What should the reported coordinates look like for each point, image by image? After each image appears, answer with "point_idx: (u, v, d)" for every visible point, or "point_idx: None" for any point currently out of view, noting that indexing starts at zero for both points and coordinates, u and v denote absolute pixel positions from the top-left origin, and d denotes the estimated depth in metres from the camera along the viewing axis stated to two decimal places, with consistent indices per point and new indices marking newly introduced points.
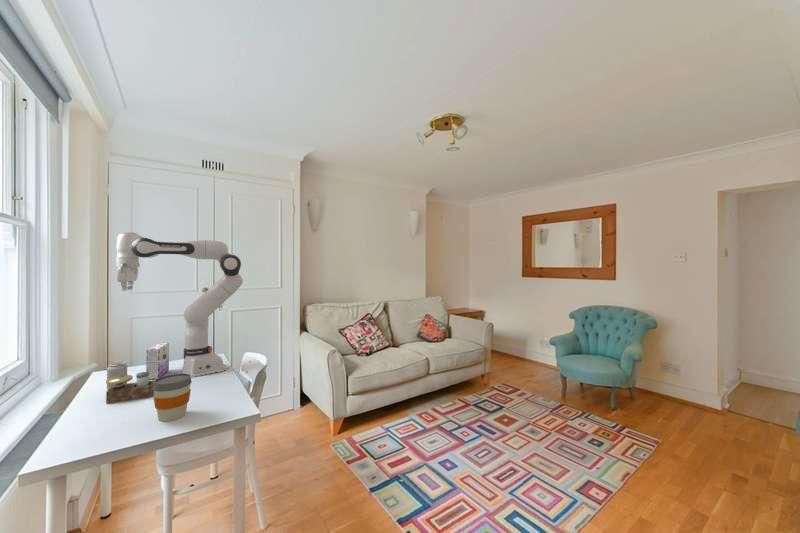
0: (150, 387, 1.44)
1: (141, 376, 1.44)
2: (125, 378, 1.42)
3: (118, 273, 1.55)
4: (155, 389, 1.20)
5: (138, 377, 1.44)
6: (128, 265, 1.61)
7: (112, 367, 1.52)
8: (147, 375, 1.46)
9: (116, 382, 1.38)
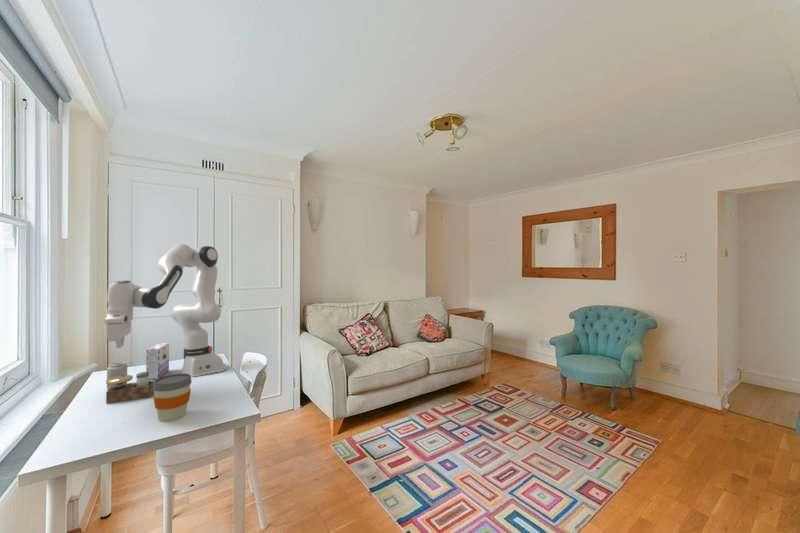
0: (150, 387, 1.44)
1: (141, 376, 1.44)
2: (125, 378, 1.42)
3: None
4: (155, 389, 1.20)
5: (138, 377, 1.44)
6: None
7: (112, 367, 1.52)
8: (147, 375, 1.46)
9: (116, 382, 1.38)
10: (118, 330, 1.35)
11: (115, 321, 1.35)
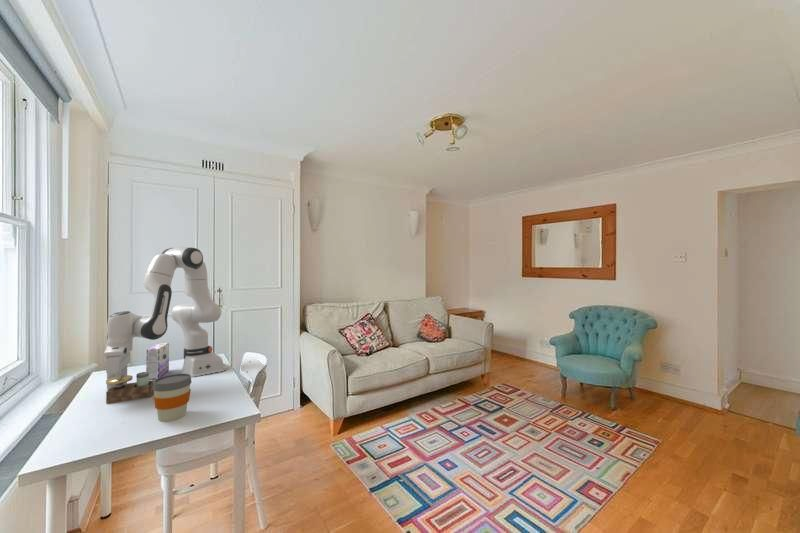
0: (150, 387, 1.44)
1: (141, 376, 1.44)
2: (125, 378, 1.42)
3: None
4: (155, 389, 1.20)
5: (138, 377, 1.44)
6: None
7: None
8: (147, 375, 1.46)
9: (116, 382, 1.38)
10: (117, 363, 1.34)
11: (114, 354, 1.35)
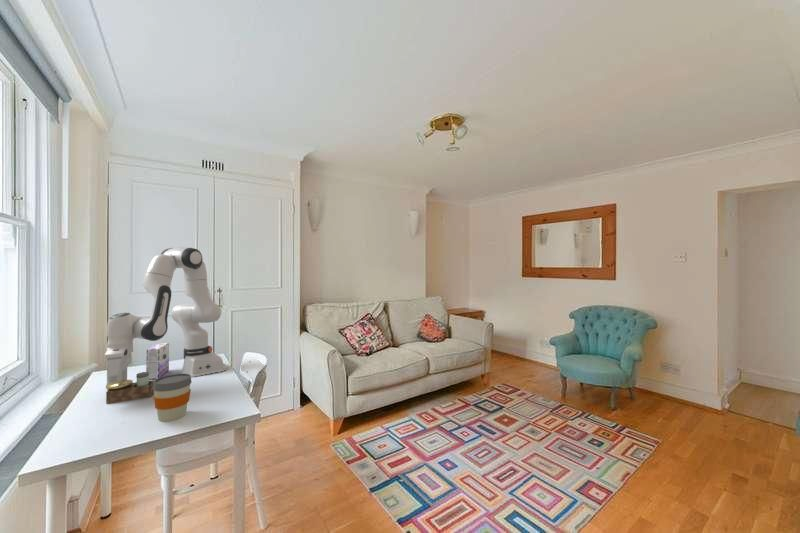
0: (150, 387, 1.44)
1: (141, 376, 1.44)
2: (125, 383, 1.42)
3: None
4: (155, 389, 1.20)
5: (138, 377, 1.44)
6: None
7: None
8: (147, 375, 1.46)
9: (116, 387, 1.38)
10: (118, 365, 1.35)
11: (115, 356, 1.35)
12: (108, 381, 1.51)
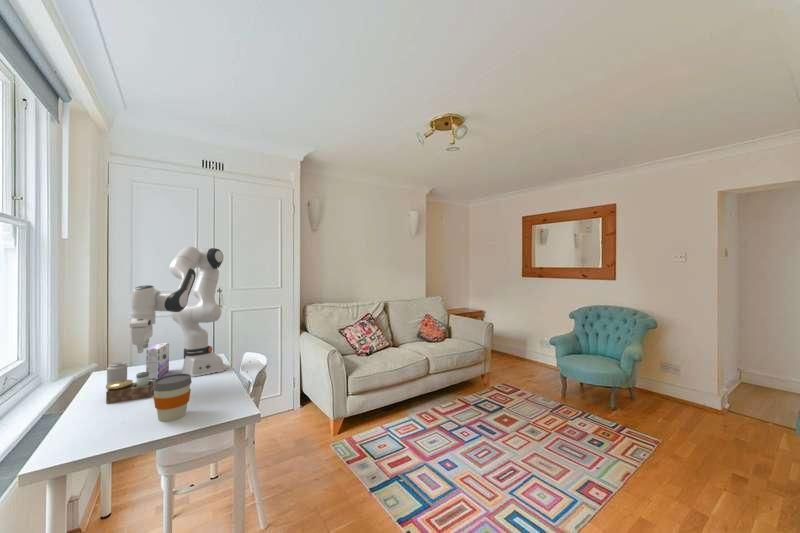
0: (150, 387, 1.44)
1: (141, 376, 1.44)
2: (125, 383, 1.42)
3: None
4: (155, 389, 1.20)
5: (138, 377, 1.44)
6: None
7: (112, 367, 1.52)
8: (147, 375, 1.46)
9: (116, 387, 1.38)
10: (142, 334, 1.39)
11: (139, 325, 1.39)
12: (108, 381, 1.51)
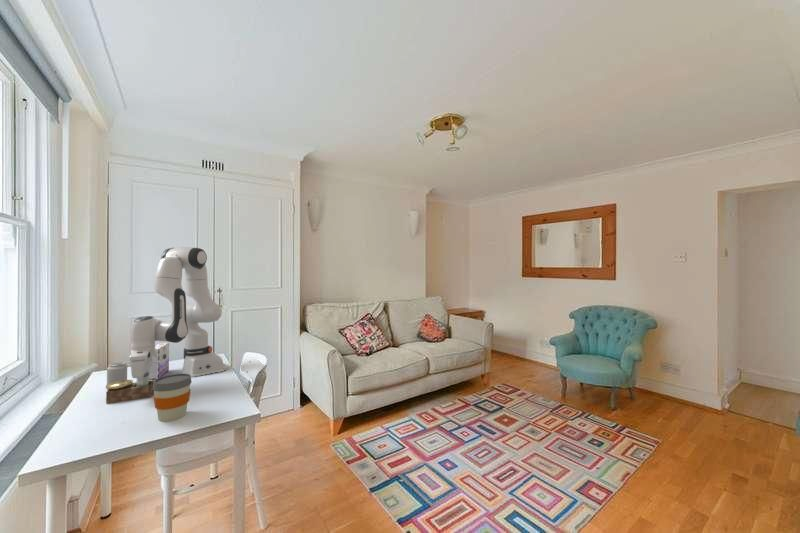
0: (150, 387, 1.44)
1: None
2: (125, 383, 1.42)
3: None
4: (155, 389, 1.20)
5: None
6: None
7: (112, 367, 1.52)
8: (147, 375, 1.46)
9: (116, 387, 1.38)
10: (142, 367, 1.39)
11: (139, 358, 1.39)
12: (108, 381, 1.51)
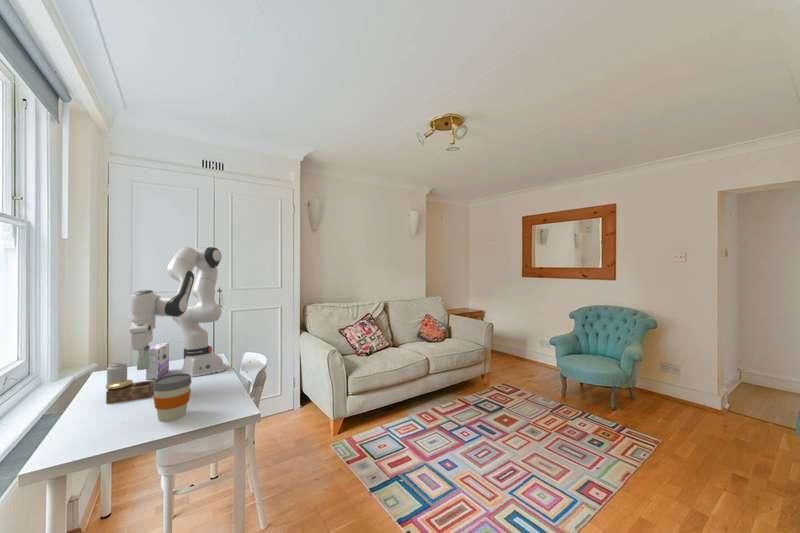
0: (150, 387, 1.44)
1: None
2: (125, 383, 1.42)
3: None
4: (155, 389, 1.20)
5: None
6: None
7: (112, 367, 1.52)
8: (147, 348, 1.46)
9: (116, 387, 1.38)
10: (142, 339, 1.39)
11: (139, 330, 1.39)
12: (108, 381, 1.51)
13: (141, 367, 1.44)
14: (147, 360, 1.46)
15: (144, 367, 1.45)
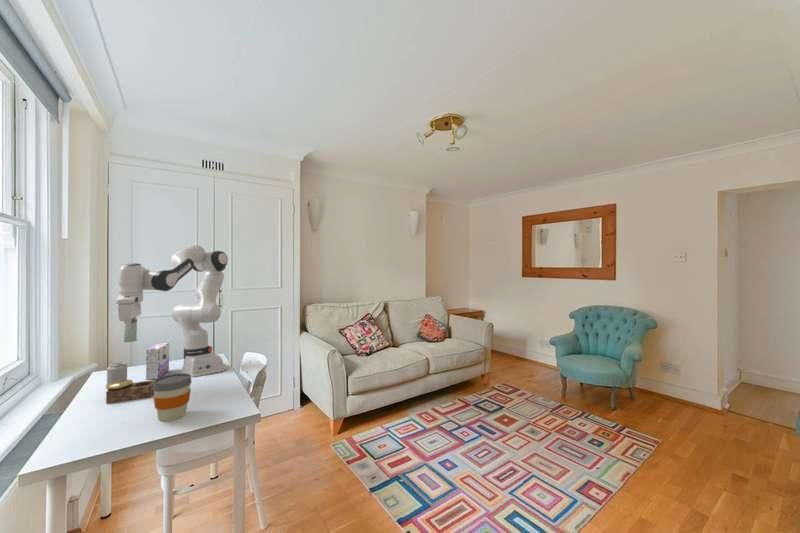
0: (150, 387, 1.44)
1: None
2: (125, 383, 1.42)
3: None
4: (155, 389, 1.20)
5: None
6: None
7: (112, 367, 1.52)
8: (135, 321, 1.46)
9: (116, 387, 1.38)
10: (129, 310, 1.39)
11: (126, 301, 1.39)
12: (108, 381, 1.51)
13: (128, 339, 1.44)
14: (134, 333, 1.46)
15: (131, 339, 1.45)
